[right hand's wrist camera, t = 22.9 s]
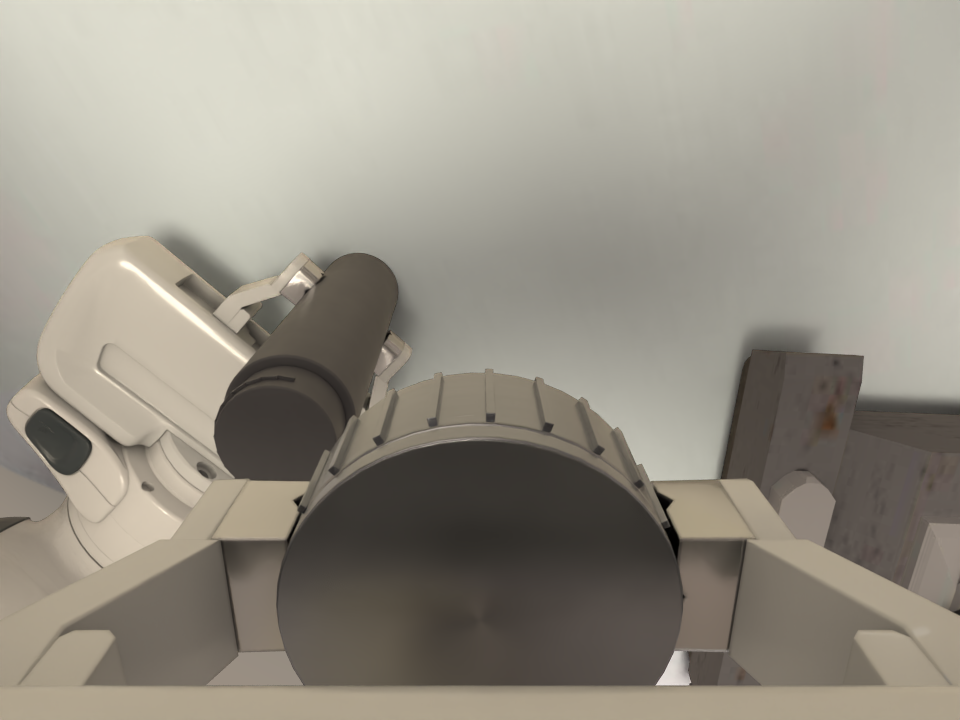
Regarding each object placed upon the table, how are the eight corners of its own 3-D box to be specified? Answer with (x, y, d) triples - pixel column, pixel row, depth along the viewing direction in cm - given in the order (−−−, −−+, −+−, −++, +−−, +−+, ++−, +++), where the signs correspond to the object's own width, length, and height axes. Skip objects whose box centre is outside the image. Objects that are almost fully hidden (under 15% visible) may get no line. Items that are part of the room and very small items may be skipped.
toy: (745, 324, 39) (908, 439, 25) (1075, 339, 40) (1410, 457, 26) (678, 670, 48) (772, 902, 33) (952, 675, 49) (1155, 903, 35)
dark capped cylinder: (326, 246, 37) (205, 365, 19) (403, 259, 37) (355, 388, 20) (318, 320, 38) (199, 494, 21) (392, 332, 39) (339, 513, 21)
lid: (491, 708, 12) (492, 827, 10) (240, 535, 10) (185, 632, 8) (721, 514, 10) (777, 608, 8) (464, 290, 9) (460, 340, 7)
